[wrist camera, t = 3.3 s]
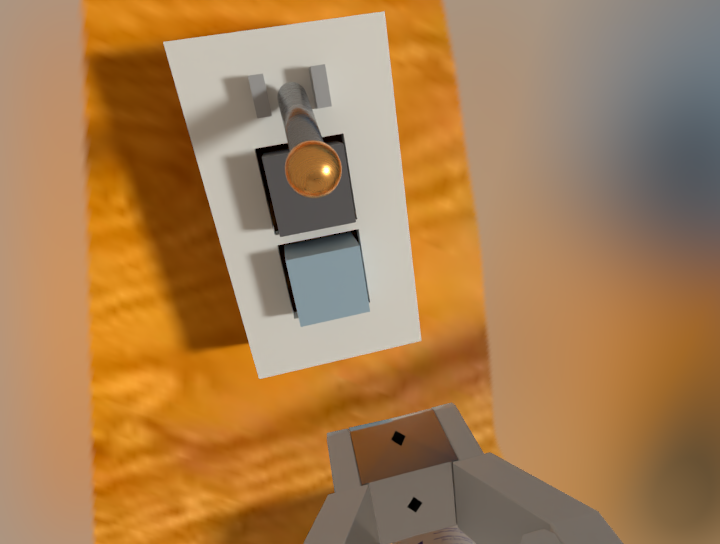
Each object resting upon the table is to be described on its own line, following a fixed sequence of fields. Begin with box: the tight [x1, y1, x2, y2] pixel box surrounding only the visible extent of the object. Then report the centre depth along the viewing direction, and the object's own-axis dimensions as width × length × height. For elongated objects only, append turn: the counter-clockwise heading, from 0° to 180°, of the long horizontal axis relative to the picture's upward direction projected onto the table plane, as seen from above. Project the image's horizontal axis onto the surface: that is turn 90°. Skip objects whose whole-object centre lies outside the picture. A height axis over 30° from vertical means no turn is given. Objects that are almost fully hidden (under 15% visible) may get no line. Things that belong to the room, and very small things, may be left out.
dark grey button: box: [262, 140, 356, 237], centre depth 19 cm, size 3×3×2 cm
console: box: [163, 11, 421, 379], centre depth 22 cm, size 16×9×5 cm, turn 9°
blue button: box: [284, 232, 370, 327], centre depth 21 cm, size 3×3×2 cm
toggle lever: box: [277, 82, 342, 198], centre depth 15 cm, size 2×2×7 cm
